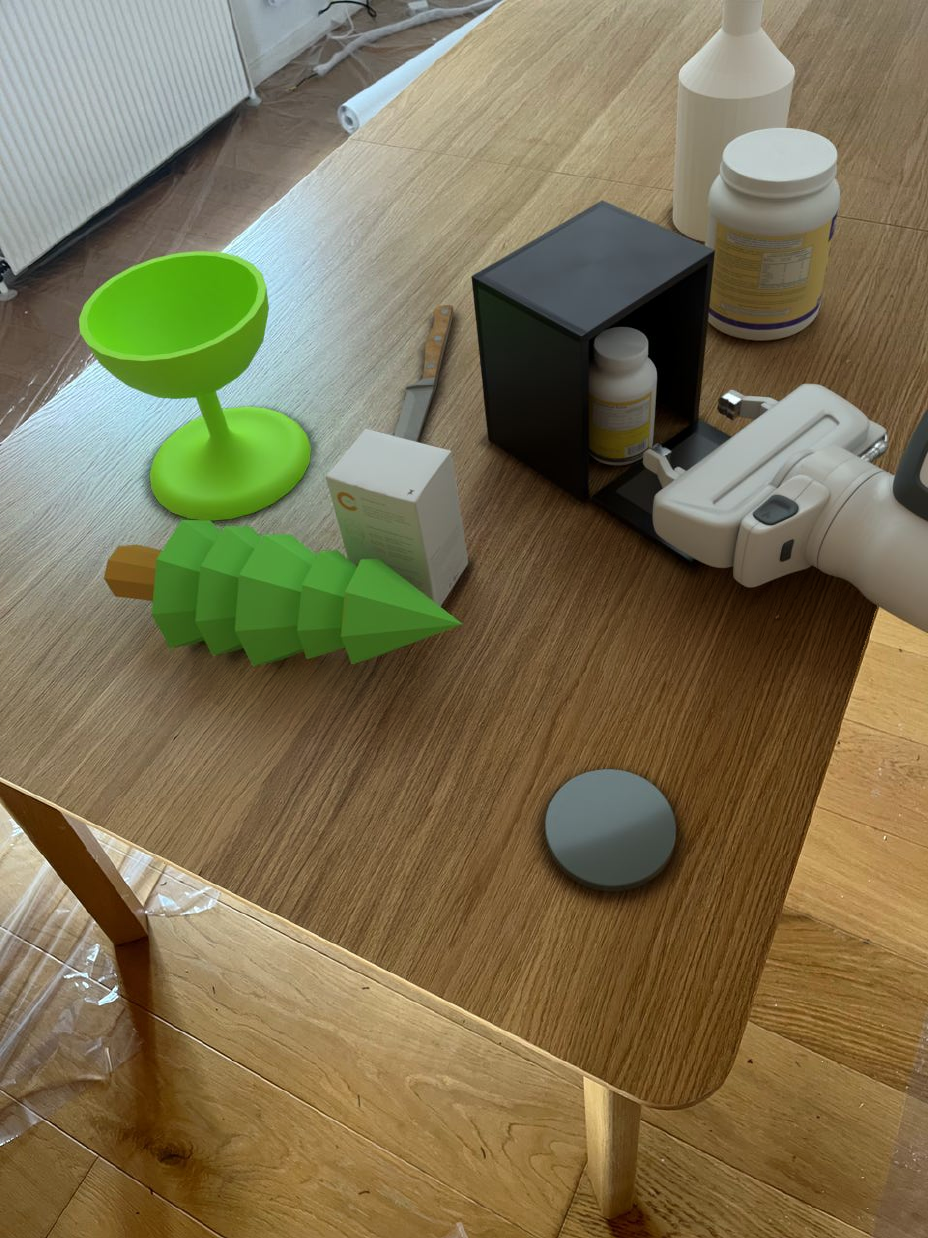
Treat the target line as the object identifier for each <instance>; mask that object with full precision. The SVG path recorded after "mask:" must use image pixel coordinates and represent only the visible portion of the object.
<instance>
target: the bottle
mask: <svg viewBox="0 0 928 1238" xmlns="http://www.w3.org/2000/svg"><path fill="white" fill-rule="evenodd" d="M764 3H765V0H723V2H722V17H721V19H722V20H721V27H720V28H719V29H718V30H717V31H716V32H715V34H714V35H712V37H711V38H710V39H709V40H708V41H707V42H706V43H705V44H704V45H703V47H701V49H700V50H698V52H697V53H696V54H694V55H693V56H692V57H691V58H690V59H688V61H687V62H685V63H684V64H683V65H682V66H681V68H680V70H679V73H678V81H677V82H678V83H677V107H676V130H675V150H674V151H675V152H674V153H675V154H674V172H673V173H674V174H673V177H674V178H673V201H672V223H673V225H674V226H675V229H677V230H678V231H679V232H680V234H683V236H684V235H685V237H687V238H689V239H692V240H694V241H699V242H703V243H705V236H706V225H707V213H708V197H709V193H710V189H711V186H712V184H713V182H714V181H715V179H716V178H717V177H718V175H719V174H720V166H721V163H722V157H723V152H724V149H725V148H726V146H727V145H728V144H729V143H730V142H731V141H733V140H734V139H736V138H737V137H739V136H742V135H744V134H747V133H750V132H753V131H757V130H762V129H771V128H787V126H788V120H789V114H790V113H789V112H790V107H791V100H792V95H793V90H794V89H793V88H794V82H795V74H796V68H795V67H794V64H793V63H792V62H791V61H790V60H789V59H788V58H787V57H786V55H784V53H782V52H781V51H780V50H779V49H778V47H777V46H776V45H775V43H774V42H773V41H772V39H771V38H770V36H768V34H767V33H766V31H765V30H764V28H762V26H761V25H762V16H763V11H764Z"/></svg>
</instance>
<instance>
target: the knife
mask: <svg viewBox="0 0 928 1238" xmlns="http://www.w3.org/2000/svg"><path fill="white" fill-rule="evenodd" d="M433 309H434V310H433V326H432V328H431V331H430V332H429V335H428V337H427V339H426V341H425V347H424V363H423V364H424V365H423V371H422V378H421V379H420V380H418V381H416V382H413V383H410V384H407V386H406V387H405V390H406V394H405V397H404V401H403V405H402V408H401V411H400V415H399V418H398V422H397V425H396V427H395V431H394V435H393V436H396V437H400V438H404V439H408V440H412V441H415V442H419V440H420V437H421V434H422V431H423V427H424V424H425V421H426V418H427V415H428V412H429V410H430V407H431V403H432V400H433V397H434V395H435V393H436V390H437V386H438V380H439V375H440V369H441V365H442V362H443V357H444V353H445V349H446V346H447V343H448V339H449V335H450V331H451V327H452V323H453V318H454V314H455V313H454V311H455V310H454V306H453V305H451V304H443V305H438V306H437V307H435V308H433Z"/></svg>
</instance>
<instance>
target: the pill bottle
mask: <svg viewBox="0 0 928 1238" xmlns="http://www.w3.org/2000/svg"><path fill="white" fill-rule="evenodd" d="M647 356H648V340H647V338H646V336H645V335H644V334H643V333H642V332H640V331H638V330H636V329H633V328H629V327H614V328H610V329H607V330H605V331H603V332H601V333H600V334H598V335H597V337H596V338H595V340H594V343H593V357H594V358H593V359H592V360H591V361H590V362H589V456H590V457H591V458H593V459H594V460H596V462H597V461H598V463H602V464H605V465H609V466H627V465H631V464H634V463H637V462H639V461H640V460H642V459H643V453H644V452H645V451H646V450H648V449H649V448H651V447H652V446H654V445H653V444H654V437H655V421H656V419H655V418H656V404H657V403H656V388H657V371H656V368H655V365H654V364H653V362H652V361H651V360H650V359H649V358H648V357H647Z"/></svg>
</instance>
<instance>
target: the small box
mask: <svg viewBox="0 0 928 1238" xmlns="http://www.w3.org/2000/svg"><path fill="white" fill-rule="evenodd" d="M452 451H453V450H451V449H446V448H442V447H438V446H436V445H435V446H434V445H431V444H427V443H423V442H419V441H418V442H415V441H412V440H408V439H404V438H400V437H396V436H394V435H392V434H388V433H385V432H381V431H377V430H373V429H370V428H365V429H363V430H362V432H361V433H360V434H359V435H358V437H357V438H356V439H355V440H354V442H353V443H352V444H351V446H350V447H349V448H348V449H346V452H344V454H343V455H342V456H341V458H340V459H339V460H338V461H337V462H336V463H335V465H333V467H332V468H331V469H330V470H329V472H328V473H327V474H326V475H325V479H326V483H327V486H328V489H329V493H330V497H331V501H332V504H333V509H334V512H335V517H336V520H337V523H338V527H339V530H340V534H341V538H342V541H343V547H344V548H345V549H344V550H345V553H346V556H347V557H346V558H347V559H348V560H350V561H351V562H352V563H353V564H355V565H356V566H358V564H359V562H360V560H361V559H380V560H381V561H382V562H383V563H385V564H386V565H387V566H389V567H390V568H391V569H392V570H394V571H395V572H396V573H398V574H399V575H400V576H401V577H403V578H404V579H405V580H407V581H408V582H409V583H410V584H412V585H413V586H414V587H416V588H417V589H418V590H419V591H421V592H422V593H423V594H425V595H426V596H427V597H428V598H430V599H431V600H432V601H434V602H435V603H436V604H437V605H439V606H440V607H441V608H442V605H443V604H444V602H445V600H446V599H447V598H448V595H449V594H450V593H451V591H452V590H453V588H454V587H455V585H456V583H457V582H458V581H459V579H460V577H461V576H462V574H463V572H464V571H465V569H466V568H467V566H468V565H469V558H468V549H467V544H466V543H467V542H466V537H465V530H464V523H463V517H462V512H461V505H460V504H461V503H460V498H459V492H458V484H457V477H456V471H455V465H454V459H453V458H454V457H453V452H452Z"/></svg>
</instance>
